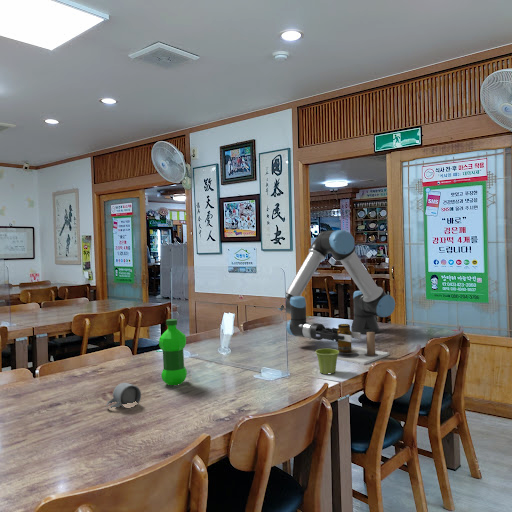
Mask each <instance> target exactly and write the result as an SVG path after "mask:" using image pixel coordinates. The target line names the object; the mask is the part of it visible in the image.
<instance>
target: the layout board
mask: <svg viewBox="0 0 512 512" xmlns="http://www.w3.org/2000/svg"><path fill="white" fill-rule="evenodd" d="M351 350H356V351H358V352H355V353H351V354H345V353H340V352H339V353H338V356H337V360H338V361H342V360H343V361H344V362H347V361H348V363H352V362H354V363H353V364H357V363H360V364H359V365H362V364H365V365H367V364H369V363H372V362H374V361H378V360H380V359H382V358H385V357H387V356H390V352H388V351H387V352H386V351H381V350H376V333H375V332H367V334H366V348H365V347H364V348H363V347H357V346H354V347H352V349H351ZM366 363H367V364H366Z"/></svg>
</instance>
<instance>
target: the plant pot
mask: <svg viewBox="0 0 512 512" xmlns="http://www.w3.org/2000/svg"><path fill="white" fill-rule="evenodd" d="M338 353H339V351H338V349H336V348H335V349H334V348H319V349H316V350H315V355H316V357H317V362H318V363H317V364H318V369H319V374H322V373H323V374H322V375H324V374H328V373H334V372H335V373H336V369H337V363H338V362H337V356H338ZM335 373H334V374H335Z"/></svg>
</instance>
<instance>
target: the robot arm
mask: <svg viewBox="0 0 512 512" xmlns="http://www.w3.org/2000/svg"><path fill="white" fill-rule="evenodd" d="M355 245H356V244H355V238H354V236H353V235H352V234H351V232H349V231H347V230H342V229H337V230H325V231H322V232H321V233H320V234H318V235H317V236H316V238H315V239H314V241H313V242H312V244H311V245H310V247H309V248H308V254H307V256H306V257H305V259H304V261H303V263H302V264H301V266H300V268H299V270H298V271H297V273H296V274H295V276H294V278H293V280H292V281H291V283H290V284H289V286H288V288H287V290H286V291H285V293H286V314H290V320H288V321H287V324H286V325H285V326H286V327H285V329H286V332H287V334H288V335H291V336H294V337H298V338H299V337H301V338H306V339H307V338H308V340H317V341H321V340H323V339H324V340H328V341H331V342H334V341H335V343H336V342H337V343H338V340H341V341H347V342H351V343H352V342H353V339H356V340H361V339H362V338H361V335H367V332H375V334H376V333H380V326H379V323H378V321H377V318H376V317H380V318H387V317H389V316H392V314H393V312H394V311H395V307H396V301H395V298H394V297H393V296H392V295H390V294H387V293H386V292H385V289H384V288H383V287H381V286H378V285H377V284H376V282H375V281H374V279H373V278H372V276H371V274H370V272H369V271H368V270H367V268H366V267H365V265H364V264H363V262H362V261H361V259H360V258H359V256H358V255H357V253H356V247H355ZM329 254H331V255H332V256H333V258H334V260H335V261H337V262H340V263H341V264H342V266H343V267H344V269H345V270H346V272H347V273H348V275H349V276H350V278H351V279H352V281H353V282H354V284H355V285H356V286H357V288H358V290H355V291H354V292H353V296H352V300H353V321H352V323H351V325H350V331H351V335H344V334H337V332H338V327H331V328H329V327H325V325H324V324H322V323H318V322H317V323H316V322H311V321H307V301H306V297H305V296H302V294H303V292H304V291H305V289H306V287H307V286H308V283H309V282H310V281H311V279H312V277H313V275H314V274H315V272H316V270H317V268H318V267H319V265H320V263H321V262H322V260H325V259H326V258H327V257H328V255H329ZM283 308H284V306H283V305H282V306H281V308H277V310H278V311H280V312H282V310H283Z"/></svg>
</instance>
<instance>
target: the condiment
mask: <svg viewBox="0 0 512 512" xmlns="http://www.w3.org/2000/svg"><path fill="white" fill-rule="evenodd" d="M337 329H338V332H337V334H344V335H351V332H352V331H351V325H350V323H349V324H348V323H340V324H338V325H337ZM352 348H353V347H352V342H347V341H341V340H338V342H337V350H338V351H339V352H340V353H345V354H351V353H355V352H358V351H356V350H351V349H352Z"/></svg>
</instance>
